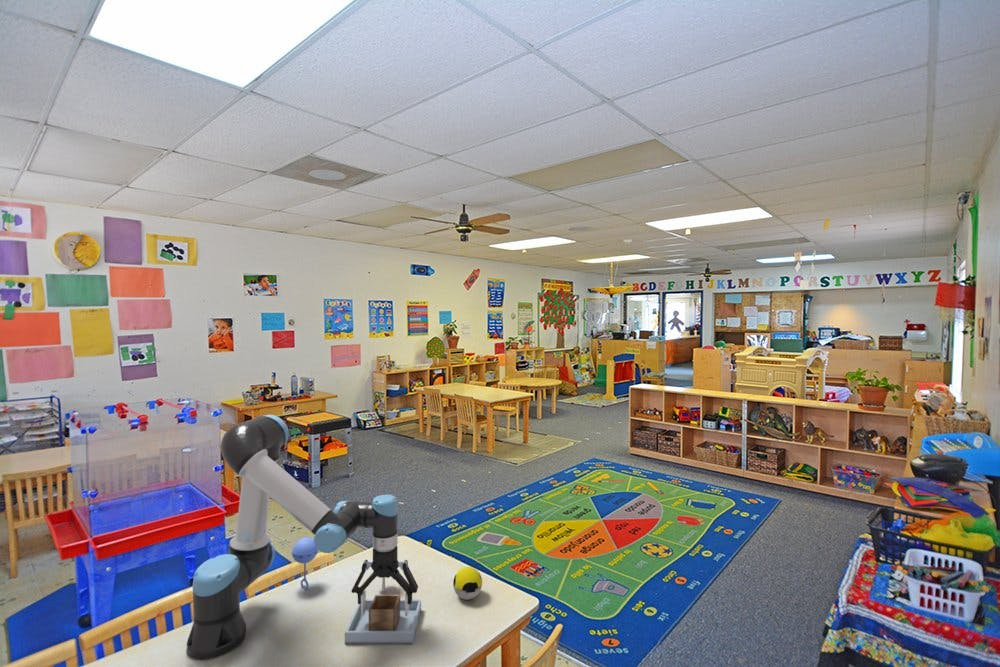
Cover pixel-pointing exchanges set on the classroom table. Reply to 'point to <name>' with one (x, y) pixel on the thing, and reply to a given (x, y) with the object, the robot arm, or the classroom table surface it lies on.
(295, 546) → the baby rattle
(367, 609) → the big tray
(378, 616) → the small crate
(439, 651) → the classroom table surface
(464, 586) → the toy
